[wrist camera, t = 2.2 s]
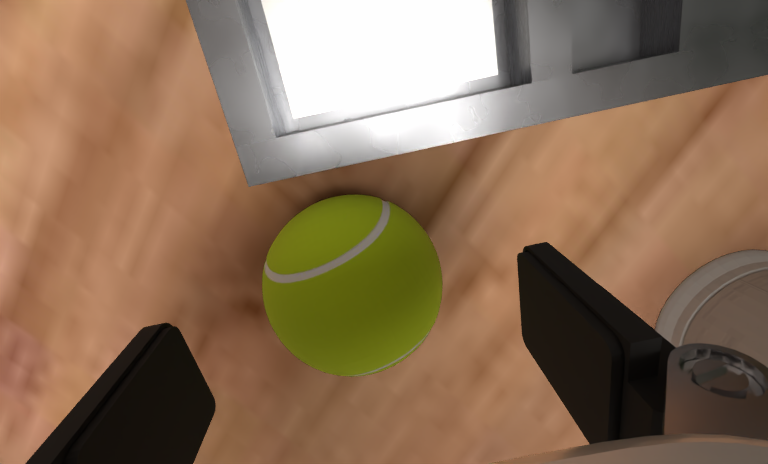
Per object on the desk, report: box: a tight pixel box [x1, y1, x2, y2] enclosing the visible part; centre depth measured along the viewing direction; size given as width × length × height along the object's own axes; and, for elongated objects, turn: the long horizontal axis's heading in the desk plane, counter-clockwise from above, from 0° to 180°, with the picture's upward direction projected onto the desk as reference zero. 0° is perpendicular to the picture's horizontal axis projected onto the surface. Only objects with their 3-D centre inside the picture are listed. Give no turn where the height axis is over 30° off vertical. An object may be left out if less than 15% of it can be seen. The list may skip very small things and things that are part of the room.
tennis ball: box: [262, 195, 442, 377], centre depth 15 cm, size 7×7×7 cm
